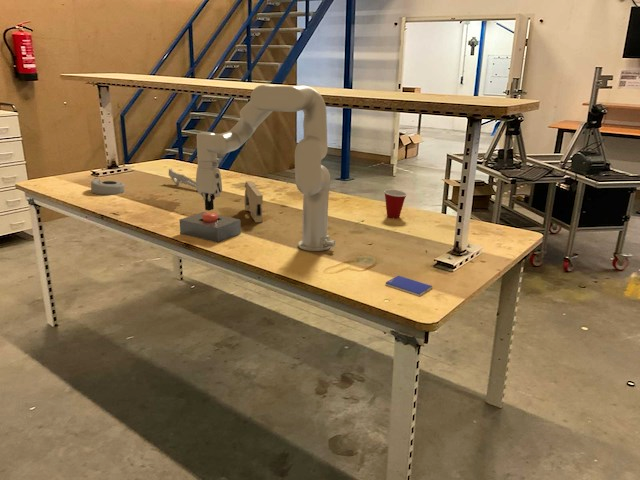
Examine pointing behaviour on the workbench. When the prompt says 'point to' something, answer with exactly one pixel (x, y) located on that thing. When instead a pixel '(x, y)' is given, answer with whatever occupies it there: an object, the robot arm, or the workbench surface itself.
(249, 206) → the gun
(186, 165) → the workbench surface
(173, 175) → the gun
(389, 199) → the plastic cup
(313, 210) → the robot arm
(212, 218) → the button
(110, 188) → the turbocharger housing
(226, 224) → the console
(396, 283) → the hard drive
